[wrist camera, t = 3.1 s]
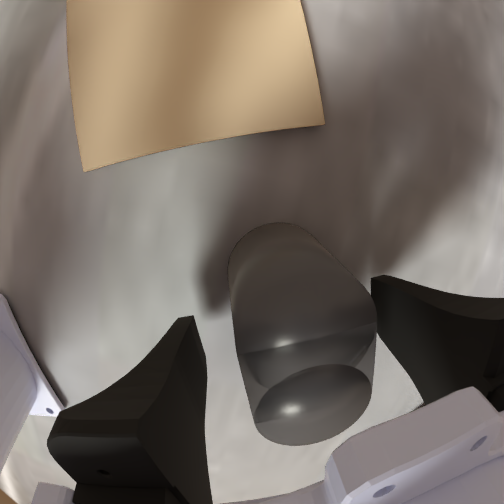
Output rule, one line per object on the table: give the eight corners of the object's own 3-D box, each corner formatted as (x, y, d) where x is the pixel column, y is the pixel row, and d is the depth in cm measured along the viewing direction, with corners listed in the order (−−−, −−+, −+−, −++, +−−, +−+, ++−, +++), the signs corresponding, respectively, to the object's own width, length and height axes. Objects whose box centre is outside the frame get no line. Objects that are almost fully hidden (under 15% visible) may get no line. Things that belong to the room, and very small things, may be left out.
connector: (218, 233, 12) (221, 288, 7) (319, 214, 12) (377, 256, 8) (255, 399, 15) (269, 477, 10) (329, 382, 15) (362, 453, 11)
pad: (89, 171, 11) (83, 172, 10) (72, -16, 8) (67, -22, 7) (320, 125, 11) (325, 124, 11) (278, -57, 8) (281, -64, 8)
